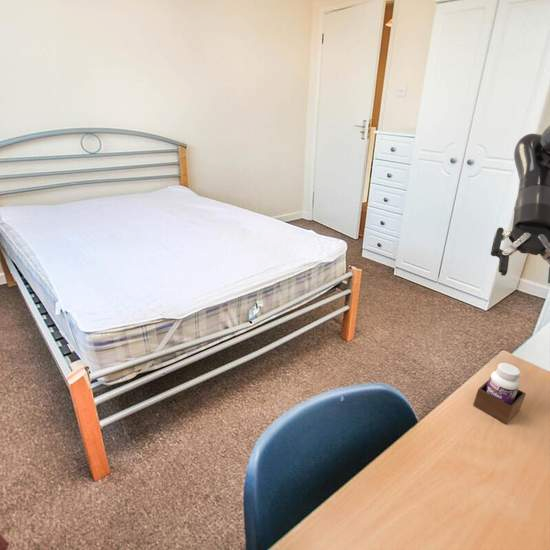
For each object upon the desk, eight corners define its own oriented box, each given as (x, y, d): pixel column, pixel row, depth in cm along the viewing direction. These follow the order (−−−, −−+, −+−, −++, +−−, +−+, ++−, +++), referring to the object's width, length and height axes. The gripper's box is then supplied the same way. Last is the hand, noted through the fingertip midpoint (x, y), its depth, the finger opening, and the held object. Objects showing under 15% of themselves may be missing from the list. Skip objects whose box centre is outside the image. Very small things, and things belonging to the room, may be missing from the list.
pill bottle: (479, 404, 82) (490, 368, 78) (486, 392, 85) (498, 357, 82) (506, 418, 79) (520, 380, 75) (513, 404, 82) (526, 368, 78)
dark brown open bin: (487, 392, 86) (492, 376, 85) (519, 410, 82) (526, 393, 80) (473, 405, 82) (478, 388, 81) (505, 424, 78) (512, 407, 76)
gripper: (502, 198, 83) (493, 264, 78) (581, 205, 78) (576, 277, 73) (494, 216, 89) (485, 278, 84) (566, 224, 84) (561, 291, 79)
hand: (527, 278), depth 79 cm, fingers open, 8 cm apart
